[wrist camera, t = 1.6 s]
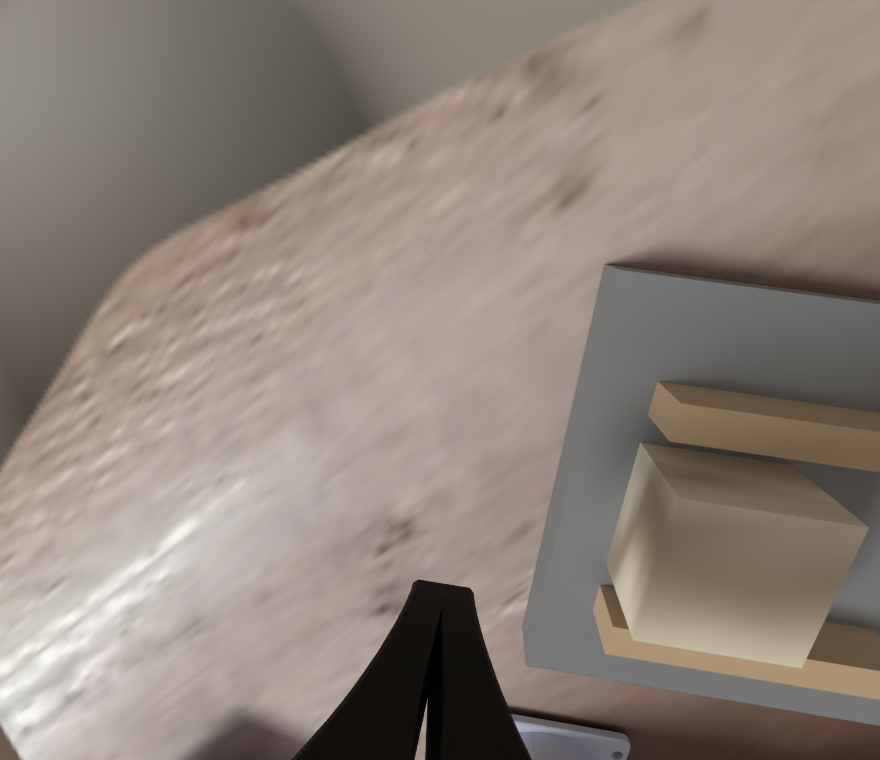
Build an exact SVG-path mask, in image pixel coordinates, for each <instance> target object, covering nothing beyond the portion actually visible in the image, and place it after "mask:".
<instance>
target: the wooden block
mask: <svg viewBox="0 0 880 760" xmlns="http://www.w3.org/2000/svg"><path fill="white" fill-rule="evenodd" d="M868 529H869V527H868V526H867V525H866V524H864V523H863V522H862V521H861V520H859V519H858V518H857V517H856V516H854V515H853V514H852V513H851V512H849V511H848V510H847V509H846V508H844V507H843V506H842V505H841V504H839V503H838V502H837V501H836V500H834V499H833V498H832V497H831V496H829V495H828V494H827V493H826V492H824V491H823V490H822V489H821V488H820V487H818V486H817V485H816V484H815V483H813V482H812V481H811V480H810V479H808V478H807V477H806V476H805V475H803V474H802V473H801V472H800V471H798V470H797V469H796V468H795V467H793V466H792V465H790V464H783V463H776V462H769V461H762V460H756V459H749V458H742V457H735V456H729V455H722V454H715V453H708V452H702V451H695V450H688V449H681V448H675V447H668V446H661V445H654V444H648V443H641V442H640V445H639V449H638V452H637V456H636V459H635V463H634V466H633V470H632V473H631V477H630V480H629V484H628V488H627V491H626V495H625V498H624V502H623V505H622V509H621V512H620V516H619V519H618V523H617V526H616V530H615V534H614V537H613V541H612V544H611V548H610V551H609V555H608V558H607V562H606V565H607V568H608V570H609V573H610V576H611V579H612V582H613V585H614V588H615V590H616V593H617V596H618V599H619V602H620V605H621V608H622V610H623V613H624V616H625V619H626V622H627V625H628V627H629V630H630V633H631V636H632V639H633V641H639V642H645V643H651V644H657V645H663V646H669V647H675V648H681V649H687V650H693V651H699V652H705V653H711V654H717V655H723V656H729V657H735V658H741V659H747V660H753V661H759V662H765V663H771V664H777V665H783V666H789V667H795V668H801V669H802V667H803V665H804V663H805V660H806V658H807V656H808V654H809V652H810V650H811V648H812V646H813V644H814V642H815V640H816V638H817V635H818V633H819V631H820V629H821V627H822V625H823V623H824V621H825V619H826V617H827V615H828V613H829V610H830V608H831V606H832V604H833V602H834V600H835V598H836V596H837V594H838V592H839V590H840V588H841V586H842V583H843V581H844V579H845V577H846V575H847V573H848V571H849V569H850V567H851V565H852V563H853V561H854V558H855V556H856V554H857V552H858V550H859V548H860V546H861V544H862V542H863V540H864V538H865V536H866V533H867V531H868Z"/></svg>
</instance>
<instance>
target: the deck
mask: <svg viewBox="0 0 880 760" xmlns="http://www.w3.org/2000/svg"><path fill="white" fill-rule="evenodd" d="M640 442H641V443H648V444H654V445H661V446H668V447H675V448H681V449H688V450H695V451H702V452H708V453H715V454H722V455H729V456H735V457H742V458H749V459H756V460H762V461H769V462H776V463H783V464H790V465H792V466H793V467H795V468H796V469H797V470H798V471H800V472H801V473H802V474H803V475H805V476H806V477H807V478H808V479H810V480H811V481H812V482H813V483H815V484H816V485H817V486H818V487H820V488H821V489H822V490H823V491H824V492H826V493H827V494H828V495H829V496H831V497H832V498H833V499H834V500H836V501H837V502H838V503H839V504H841V505H842V506H843V507H844V508H846V509H847V510H848V511H849V512H851V513H852V514H853V515H854V516H856V517H857V518H858V519H859V520H861V521H862V522H863V523H864V524H866V525H867V526H868V527H869V529H868V531H867V533H866V536H865V538H864V540H863V542H862V544H861V546H860V548H859V550H858V552H857V554H856V556H855V558H854V561H853V563H852V565H851V567H850V569H849V571H848V573H847V575H846V577H845V579H844V581H843V583H842V586H841V588H840V590H839V592H838V594H837V596H836V598H835V600H834V602H833V604H832V606H831V608H830V610H829V613H828V615H827V617H826V619H825V621H824V623H823V625H822V627H821V629H820V631H819V633H818V635H817V638H816V640H815V642H814V644H813V646H812V648H811V650H810V652H809V654H808V656H807V658H806V660H805V663H804V665H803V667H802V669H801V668H795V667H789V666H783V665H777V664H771V663H765V662H759V661H753V660H747V659H741V658H735V657H729V656H723V655H717V654H711V653H705V652H699V651H693V650H687V649H681V648H675V647H669V646H663V645H657V644H651V643H645V642H639V641H633V639H632V636H631V633H630V630H629V627H628V625H627V622H626V619H625V616H624V613H623V610H622V608H621V605H620V602H619V599H618V596H617V593H616V590H615V588H614V585H613V582H612V579H611V576H610V573H609V570H608V568H607V565H606V562H607V558H608V555H609V551H610V548H611V544H612V541H613V537H614V534H615V530H616V526H617V523H618V519H619V516H620V512H621V509H622V505H623V502H624V498H625V495H626V491H627V488H628V484H629V480H630V477H631V473H632V470H633V466H634V463H635V459H636V456H637V452H638V449H639V445H640ZM522 628H523V639H524V650H525V661H526V666H531V667H537V668H542V669H548V670H554V671H560V672H566V673H572V674H578V675H584V676H590V677H595V678H601V679H607V680H613V681H619V682H625V683H631V684H637V685H643V686H648V687H654V688H660V689H666V690H672V691H678V692H684V693H690V694H696V695H701V696H707V697H713V698H719V699H725V700H731V701H737V702H743V703H748V704H754V705H760V706H766V707H772V708H778V709H784V710H790V711H796V712H801V713H807V714H813V715H819V716H825V717H831V718H837V719H843V720H849V721H854V722H860V723H866V724H872V725H878V726H880V300H872V299H864V298H857V297H849V296H842V295H834V294H827V293H819V292H811V291H804V290H796V289H789V288H781V287H774V286H766V285H759V284H751V283H743V282H736V281H728V280H721V279H713V278H706V277H698V276H691V275H683V274H675V273H668V272H660V271H653V270H645V269H638V268H630V267H622V266H615V265H607V264H605V265H604V269H603V273H602V278H601V282H600V287H599V291H598V295H597V300H596V304H595V309H594V313H593V318H592V322H591V326H590V331H589V335H588V340H587V344H586V348H585V353H584V357H583V362H582V366H581V371H580V375H579V379H578V384H577V388H576V393H575V397H574V401H573V406H572V410H571V415H570V419H569V423H568V428H567V432H566V437H565V441H564V446H563V450H562V454H561V459H560V463H559V468H558V472H557V476H556V481H555V485H554V490H553V494H552V499H551V503H550V507H549V512H548V516H547V521H546V525H545V529H544V534H543V538H542V543H541V547H540V552H539V556H538V560H537V565H536V569H535V574H534V578H533V582H532V587H531V591H530V596H529V600H528V604H527V609H526V613H525V618H524V622H523V627H522Z"/></svg>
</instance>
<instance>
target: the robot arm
mask: <svg viewBox="0 0 880 760" xmlns="http://www.w3.org/2000/svg"><path fill="white" fill-rule="evenodd" d="M427 698H428V703H427ZM426 703H427V728H426V754H425V760H627V757H628V754H629V751H630V742H629V739H628V737H627V736H626V735H625V734H622V733H619V732H613V731H607V730H601V729H596V728H590V727H584V726H579V725H573V724H567V723H561V722H556V721H550V720H544V719H538V718H533V717H527V716H521V715H516V714H511V713H510V711H509V708H508V706H507V703H506V701H505V698H504V696H503V693H502V691H501V688H500V686H499V683H498V680H497V678H496V675H495V672H494V669H493V666H492V663H491V660H490V658H489V655H488V652H487V649H486V645H485V642H484V639H483V635H482V632H481V628H480V624H479V620H478V616H477V612H476V607H475V601H474V593H473V592H472V590H471V589H470V588H467V587H461V586H455V585H449V584H443V583H436V582H430V581H424V580H417V581H415V582H414V583H413V585H412V588H411V591H410V594H409V596H408V599H407V601H406V603H405V605H404V607H403V609H402V611H401V613H400V615H399V617H398V619H397V621H396V622H395V624H394V626H393V628H392V629H391V631H390V633H389V634H388V636H387V638H386V639H385V641H384V643H383V644H382V646H381V648H380V649H379V651H378V652H377V654H376V655H375V657H374V658H373V660H372V661H371V662H370V664H369V665H368V667H367V668H366V670H365V671H364V673H363V674H362V675H361V677H360V678H359V680H358V681H357V683H356V684H355V685H354V687H353V688H352V689H351V691H350V692H349V693H348V695H347V696H346V697H345V698H344V700H343V701H342V702H341V703H340V705H339V706H338V707H337V708H336V710H335V711H334V712H333V713H332V715H331V716H330V717H329V718H328V719H327V721H326V722H325V723H324V724H323V725H322V726H321V727H320V729H319V730H318V731H317V732H316V733H315V734H314V735H313V736H312V738H311V739H310V740H309V741H308V742H307V743H306V744H305V745H304V747H303V748H302V749H301V750H300V751H299V752H298V753H297V754H296V755H295V756H294V757H293V758H292V759H291V760H414V759H415V755H416V750H417V745H418V741H419V736H420V731H421V726H422V722H423V717H424V712H425V708H426Z"/></svg>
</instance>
